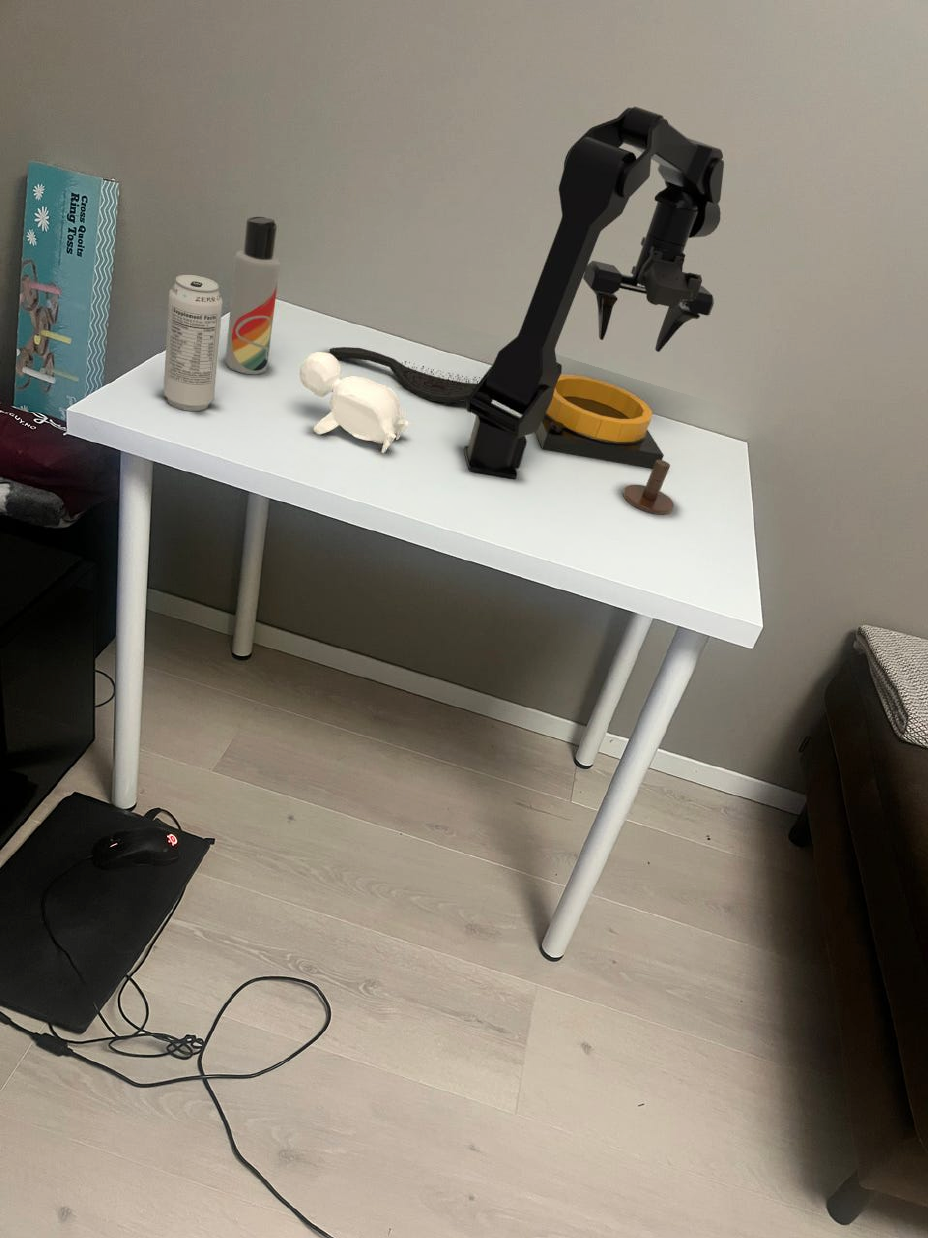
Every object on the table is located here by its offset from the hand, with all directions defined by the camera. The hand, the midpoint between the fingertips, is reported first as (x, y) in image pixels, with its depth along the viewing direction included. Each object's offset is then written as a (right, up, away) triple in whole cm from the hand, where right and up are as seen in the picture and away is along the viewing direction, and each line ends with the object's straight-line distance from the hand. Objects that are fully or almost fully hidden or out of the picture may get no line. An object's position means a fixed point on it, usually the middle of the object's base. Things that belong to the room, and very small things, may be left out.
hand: (629, 344), depth 137 cm
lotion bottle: (-56, -6, -10) cm, 57 cm away
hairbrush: (-34, -6, 0) cm, 34 cm away
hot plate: (-6, -13, +1) cm, 14 cm away
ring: (-6, -11, 0) cm, 12 cm away
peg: (0, -25, -14) cm, 29 cm away
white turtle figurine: (-40, -17, -18) cm, 47 cm away
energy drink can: (-60, -14, -23) cm, 66 cm away
